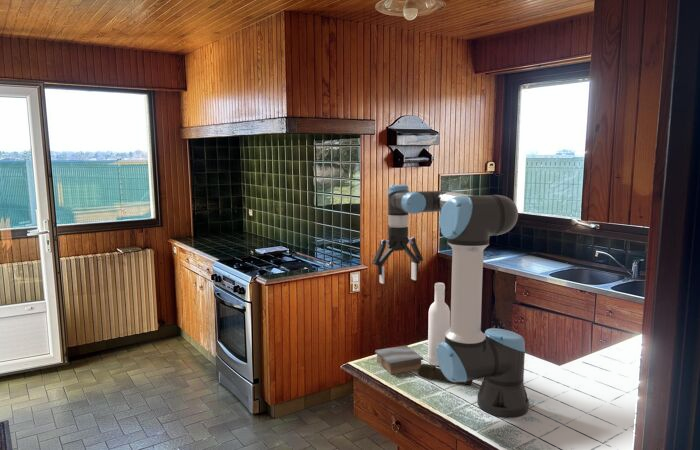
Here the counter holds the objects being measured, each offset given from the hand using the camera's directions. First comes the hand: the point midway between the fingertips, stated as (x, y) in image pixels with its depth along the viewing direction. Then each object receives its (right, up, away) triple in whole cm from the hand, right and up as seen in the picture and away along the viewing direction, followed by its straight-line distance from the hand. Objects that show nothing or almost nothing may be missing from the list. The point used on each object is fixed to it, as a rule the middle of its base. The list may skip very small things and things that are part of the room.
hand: (398, 281), depth 193 cm
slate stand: (0, -30, -7) cm, 31 cm away
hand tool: (+14, -32, -20) cm, 40 cm away
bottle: (+15, -30, -5) cm, 33 cm away
